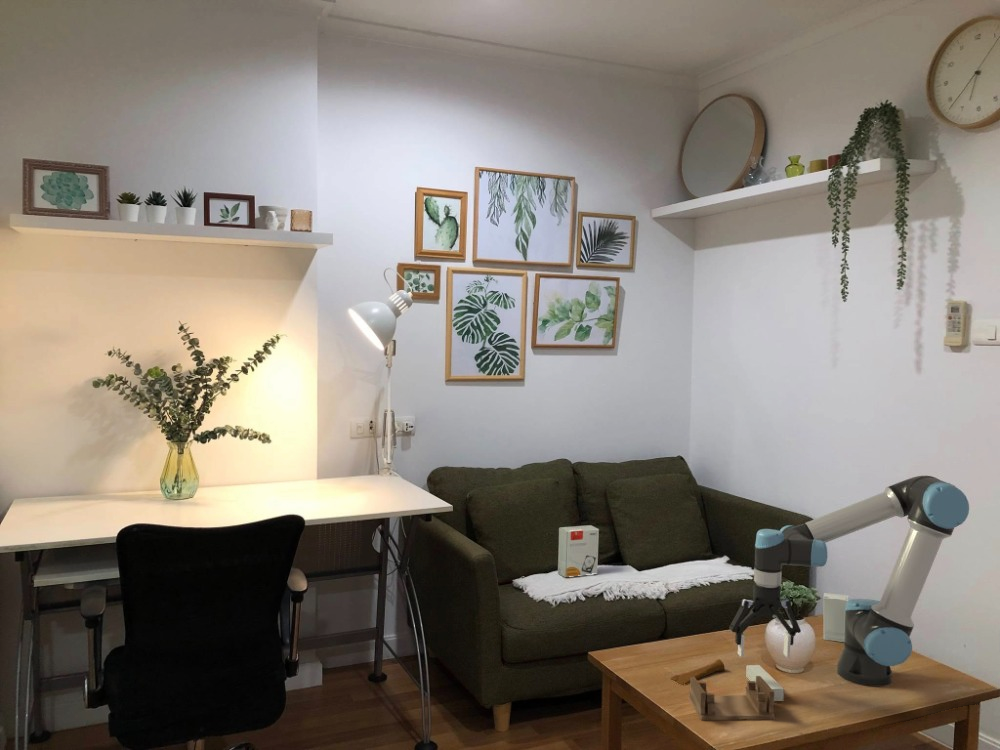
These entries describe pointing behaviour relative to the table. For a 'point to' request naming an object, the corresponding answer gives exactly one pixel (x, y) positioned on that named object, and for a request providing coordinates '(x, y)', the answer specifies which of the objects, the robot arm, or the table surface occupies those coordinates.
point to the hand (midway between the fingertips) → (763, 655)
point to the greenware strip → (759, 671)
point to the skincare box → (834, 616)
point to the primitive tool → (699, 672)
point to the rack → (733, 702)
